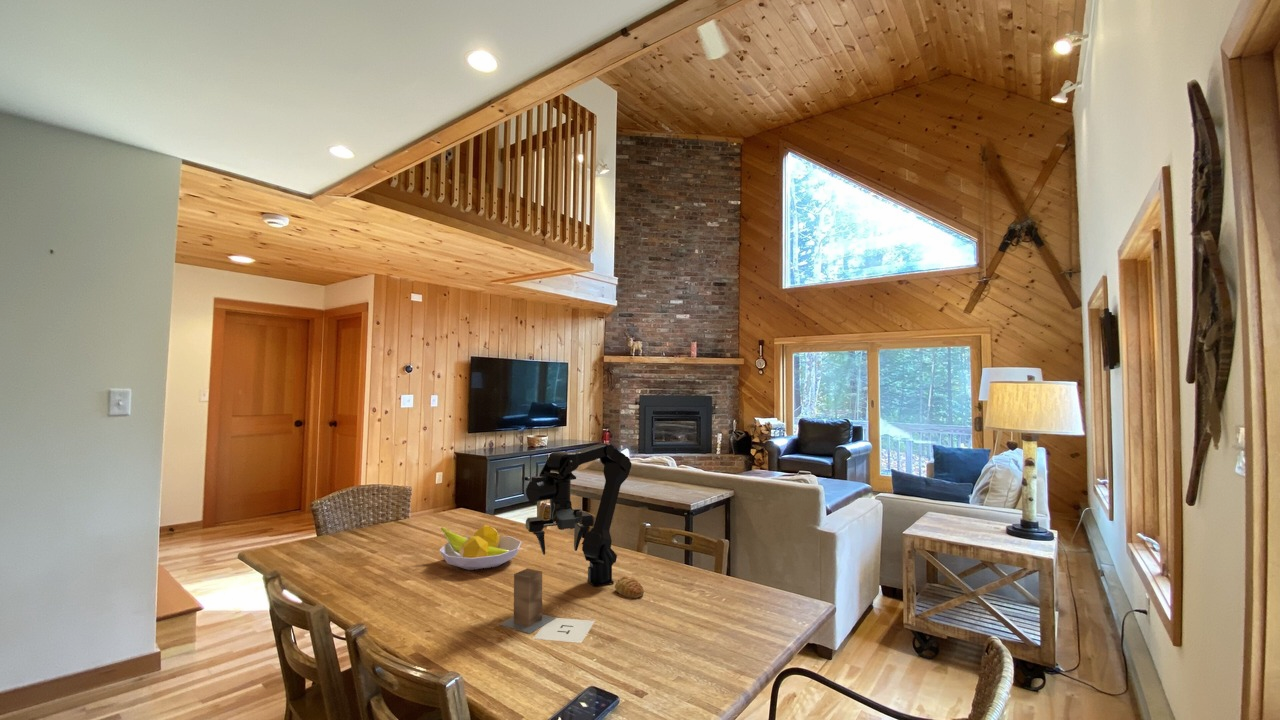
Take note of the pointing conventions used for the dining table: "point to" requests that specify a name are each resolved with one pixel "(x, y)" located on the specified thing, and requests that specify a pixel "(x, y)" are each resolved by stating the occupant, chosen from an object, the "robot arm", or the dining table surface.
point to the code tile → (565, 630)
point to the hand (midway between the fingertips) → (559, 552)
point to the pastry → (629, 587)
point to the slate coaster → (525, 629)
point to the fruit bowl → (479, 549)
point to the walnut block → (527, 597)
